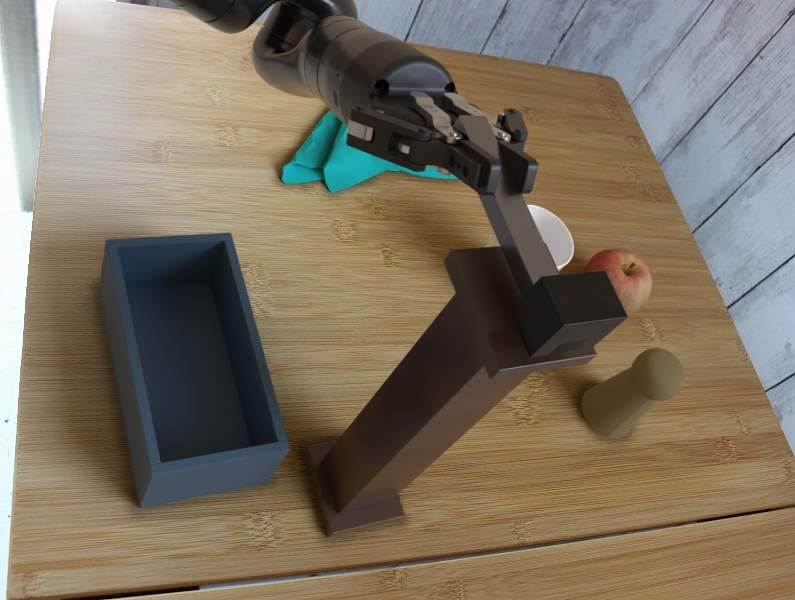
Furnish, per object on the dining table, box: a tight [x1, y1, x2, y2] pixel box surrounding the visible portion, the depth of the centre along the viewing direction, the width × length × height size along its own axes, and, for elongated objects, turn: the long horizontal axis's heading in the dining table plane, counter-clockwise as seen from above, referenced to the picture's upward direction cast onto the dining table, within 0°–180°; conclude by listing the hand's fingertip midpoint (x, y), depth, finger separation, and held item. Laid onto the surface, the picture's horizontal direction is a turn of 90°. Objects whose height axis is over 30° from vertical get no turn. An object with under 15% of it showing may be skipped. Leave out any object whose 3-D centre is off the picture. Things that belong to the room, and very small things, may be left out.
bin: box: [98, 232, 291, 509], centre depth 70 cm, size 21×11×8 cm, turn 19°
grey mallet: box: [452, 115, 629, 357], centre depth 48 cm, size 16×4×4 cm, turn 19°
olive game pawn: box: [580, 347, 686, 440], centre depth 84 cm, size 6×6×11 cm
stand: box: [303, 243, 598, 539], centre depth 61 cm, size 8×7×32 cm
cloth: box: [281, 109, 459, 194], centre depth 96 cm, size 26×14×2 cm, turn 112°
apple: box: [581, 248, 653, 317], centre depth 94 cm, size 8×8×8 cm
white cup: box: [484, 203, 575, 272], centre depth 88 cm, size 8×8×10 cm
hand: (511, 179), depth 49 cm, fingers closed on grey mallet, 2 cm apart
